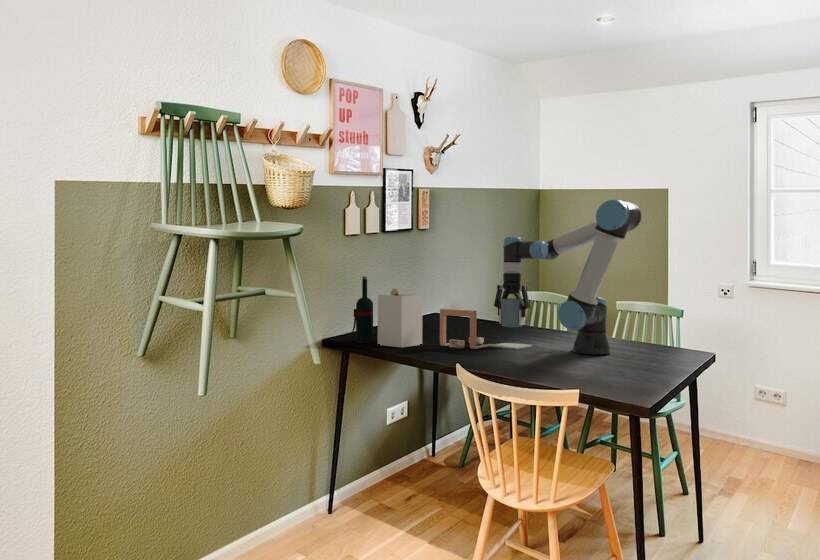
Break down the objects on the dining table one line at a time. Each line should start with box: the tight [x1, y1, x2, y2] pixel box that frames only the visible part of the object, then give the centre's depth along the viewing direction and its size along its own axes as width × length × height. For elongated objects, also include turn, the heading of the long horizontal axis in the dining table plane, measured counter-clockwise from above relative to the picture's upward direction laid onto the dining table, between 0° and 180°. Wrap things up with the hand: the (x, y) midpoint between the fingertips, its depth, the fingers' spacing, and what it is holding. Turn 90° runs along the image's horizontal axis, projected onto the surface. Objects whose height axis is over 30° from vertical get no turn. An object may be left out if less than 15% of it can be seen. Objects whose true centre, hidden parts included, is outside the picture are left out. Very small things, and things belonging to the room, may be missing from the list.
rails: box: [439, 342, 495, 350], centre depth 283 cm, size 18×15×1 cm
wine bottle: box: [351, 276, 374, 343], centre depth 291 cm, size 8×10×30 cm
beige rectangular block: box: [448, 336, 485, 349], centre depth 282 cm, size 6×18×3 cm, turn 140°
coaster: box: [490, 342, 533, 350], centre depth 280 cm, size 13×13×1 cm
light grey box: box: [377, 293, 424, 348], centre depth 285 cm, size 14×14×22 cm
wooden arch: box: [439, 308, 478, 347], centre depth 277 cm, size 18×2×15 cm, turn 50°
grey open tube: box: [501, 297, 523, 328], centre depth 280 cm, size 10×10×12 cm
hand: (511, 324), depth 280 cm, fingers closed on grey open tube, 9 cm apart
